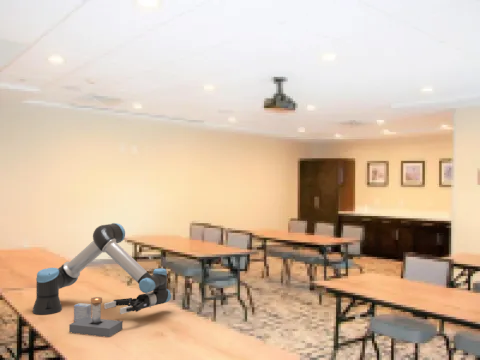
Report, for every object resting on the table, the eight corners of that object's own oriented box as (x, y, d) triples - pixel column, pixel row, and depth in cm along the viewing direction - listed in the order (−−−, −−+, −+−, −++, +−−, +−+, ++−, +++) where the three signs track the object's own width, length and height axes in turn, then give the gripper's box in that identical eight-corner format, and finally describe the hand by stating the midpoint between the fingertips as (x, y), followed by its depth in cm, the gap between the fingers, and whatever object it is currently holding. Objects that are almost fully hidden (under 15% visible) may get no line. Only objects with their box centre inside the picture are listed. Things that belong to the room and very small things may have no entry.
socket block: (69, 332, 215) (69, 324, 215) (84, 325, 227) (84, 317, 227) (109, 337, 209) (109, 328, 209) (122, 329, 221) (122, 321, 221)
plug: (88, 332, 216) (88, 299, 216) (94, 328, 221) (94, 296, 221) (97, 333, 215) (98, 300, 215) (103, 329, 220) (104, 297, 220)
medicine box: (91, 320, 235) (91, 304, 235) (86, 322, 230) (86, 306, 231) (78, 319, 237) (79, 302, 237) (73, 321, 233) (73, 305, 233)
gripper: (160, 311, 232) (127, 321, 216) (132, 303, 248) (98, 311, 232) (161, 297, 232) (127, 305, 216) (132, 289, 248) (98, 297, 232)
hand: (112, 308), depth 224 cm, fingers open, 13 cm apart
